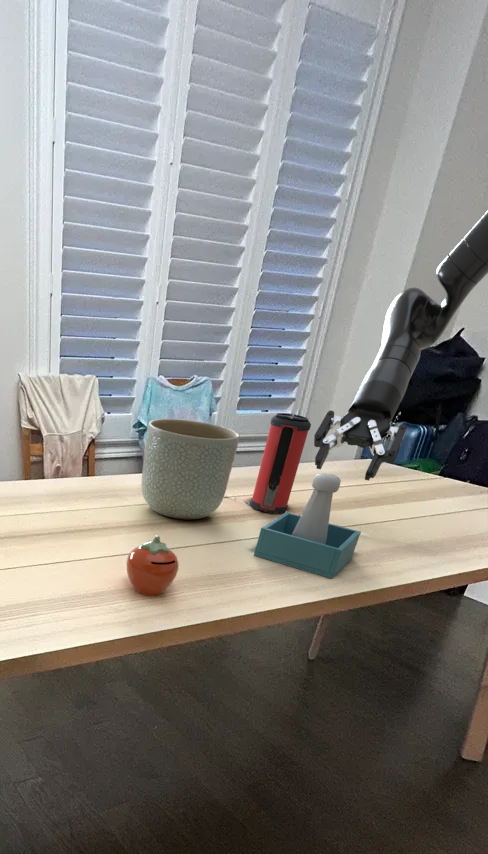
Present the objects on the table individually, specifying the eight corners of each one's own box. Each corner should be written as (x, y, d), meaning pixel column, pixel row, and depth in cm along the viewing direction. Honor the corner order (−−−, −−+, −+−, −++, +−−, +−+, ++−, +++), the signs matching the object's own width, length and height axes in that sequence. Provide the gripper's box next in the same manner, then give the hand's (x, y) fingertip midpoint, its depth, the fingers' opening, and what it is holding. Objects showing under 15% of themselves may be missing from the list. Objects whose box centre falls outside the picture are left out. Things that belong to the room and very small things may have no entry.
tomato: (137, 603, 87) (146, 546, 83) (114, 581, 93) (121, 527, 88) (183, 598, 90) (194, 544, 86) (157, 578, 95) (167, 525, 91)
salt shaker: (281, 549, 110) (304, 472, 103) (297, 543, 114) (319, 468, 106) (312, 560, 107) (338, 481, 100) (327, 554, 111) (352, 477, 103)
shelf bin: (351, 558, 113) (361, 531, 110) (331, 578, 103) (341, 550, 100) (278, 537, 118) (286, 511, 116) (253, 555, 109) (261, 527, 106)
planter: (162, 494, 135) (176, 415, 126) (234, 515, 127) (254, 433, 118) (119, 508, 123) (131, 423, 114) (196, 532, 115) (215, 443, 107)
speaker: (247, 509, 132) (270, 415, 121) (252, 500, 138) (274, 410, 128) (284, 517, 130) (311, 422, 120) (287, 507, 136) (313, 417, 126)
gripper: (341, 372, 111) (302, 449, 110) (425, 385, 106) (387, 467, 104) (338, 402, 118) (302, 475, 117) (418, 417, 113) (381, 494, 111)
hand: (342, 471), depth 110 cm, fingers open, 8 cm apart
